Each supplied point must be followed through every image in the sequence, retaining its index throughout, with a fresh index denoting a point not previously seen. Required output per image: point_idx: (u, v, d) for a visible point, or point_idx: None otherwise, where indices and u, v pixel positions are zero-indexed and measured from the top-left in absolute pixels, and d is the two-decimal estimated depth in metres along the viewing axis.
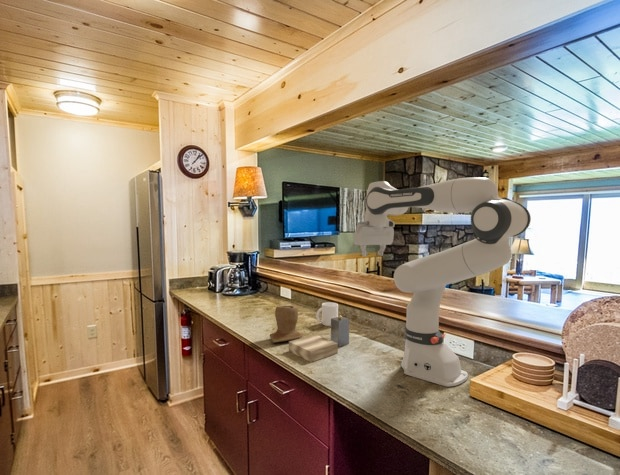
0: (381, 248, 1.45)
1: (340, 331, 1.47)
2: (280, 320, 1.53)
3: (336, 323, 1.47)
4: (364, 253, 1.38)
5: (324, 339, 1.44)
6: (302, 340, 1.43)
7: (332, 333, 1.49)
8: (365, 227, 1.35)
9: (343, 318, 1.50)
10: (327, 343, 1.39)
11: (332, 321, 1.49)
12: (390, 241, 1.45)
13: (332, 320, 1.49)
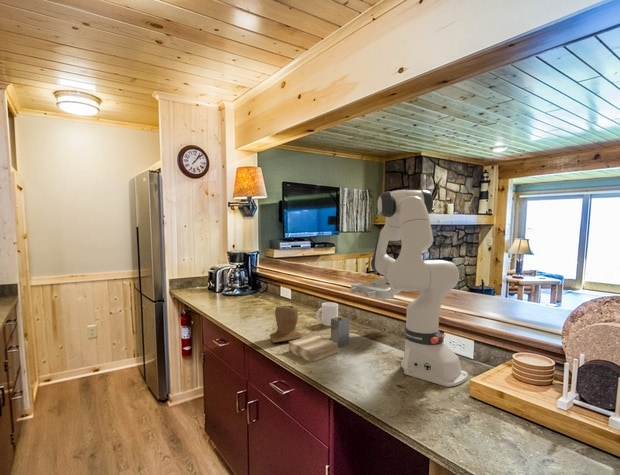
0: None
1: (340, 331, 1.47)
2: (280, 320, 1.53)
3: (336, 323, 1.47)
4: None
5: (324, 339, 1.44)
6: (302, 340, 1.43)
7: (332, 333, 1.49)
8: (364, 283, 1.69)
9: (343, 318, 1.50)
10: (327, 343, 1.39)
11: (332, 321, 1.49)
12: (382, 290, 1.54)
13: (332, 320, 1.49)
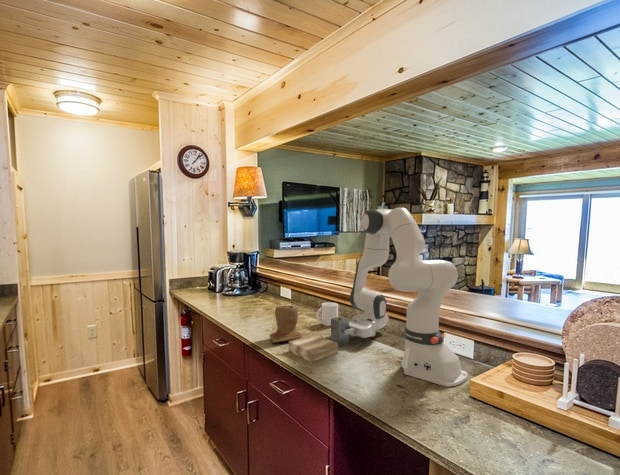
0: None
1: (340, 331, 1.47)
2: (280, 320, 1.53)
3: (336, 323, 1.47)
4: None
5: (324, 339, 1.44)
6: (302, 340, 1.43)
7: (332, 333, 1.49)
8: None
9: (343, 318, 1.50)
10: (327, 343, 1.39)
11: (332, 321, 1.49)
12: (362, 328, 1.47)
13: (332, 320, 1.49)
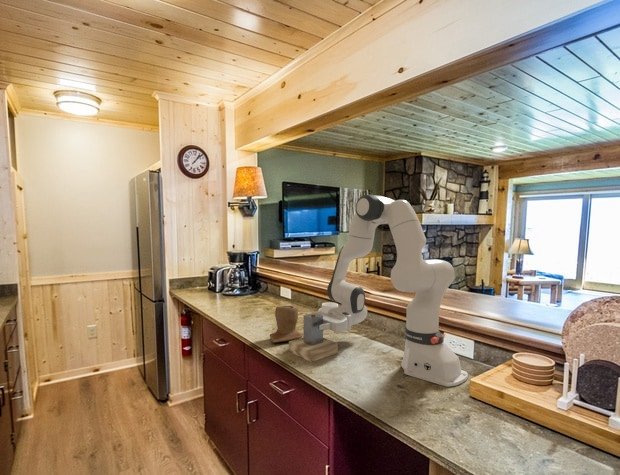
0: None
1: (313, 329, 1.37)
2: (280, 320, 1.53)
3: (308, 321, 1.38)
4: None
5: (324, 339, 1.44)
6: (302, 340, 1.43)
7: (305, 331, 1.40)
8: None
9: (317, 315, 1.40)
10: (327, 343, 1.39)
11: (305, 318, 1.39)
12: (336, 321, 1.37)
13: (305, 317, 1.39)
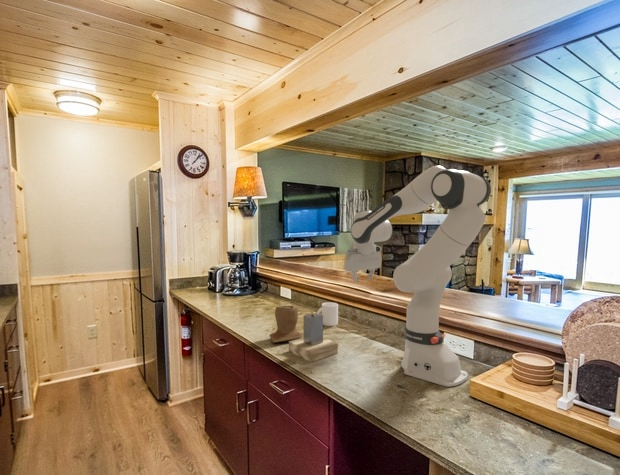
0: (371, 272, 1.55)
1: (313, 329, 1.37)
2: (280, 320, 1.53)
3: (308, 321, 1.38)
4: (355, 278, 1.48)
5: (324, 339, 1.44)
6: (302, 340, 1.43)
7: (305, 331, 1.40)
8: (354, 255, 1.46)
9: (317, 315, 1.40)
10: (327, 343, 1.39)
11: (305, 318, 1.39)
12: (378, 265, 1.55)
13: (305, 317, 1.39)
